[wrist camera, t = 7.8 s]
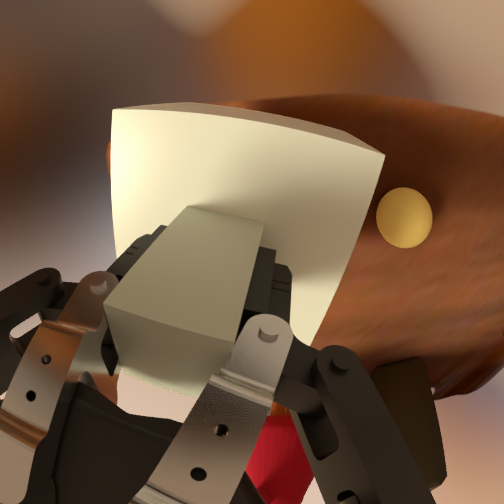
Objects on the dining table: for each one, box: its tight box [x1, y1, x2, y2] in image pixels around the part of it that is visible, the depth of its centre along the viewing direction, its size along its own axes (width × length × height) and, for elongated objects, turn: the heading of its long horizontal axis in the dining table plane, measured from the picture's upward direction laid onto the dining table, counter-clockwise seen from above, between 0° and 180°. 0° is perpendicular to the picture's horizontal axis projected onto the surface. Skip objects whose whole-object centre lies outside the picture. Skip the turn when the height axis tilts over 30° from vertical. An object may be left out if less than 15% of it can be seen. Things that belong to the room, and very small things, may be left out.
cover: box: [103, 102, 385, 399], centre depth 13 cm, size 11×11×15 cm
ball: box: [376, 187, 432, 248], centre depth 20 cm, size 5×5×5 cm
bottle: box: [372, 357, 447, 491], centre depth 25 cm, size 8×16×25 cm, turn 20°
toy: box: [245, 401, 314, 504], centre depth 23 cm, size 27×11×30 cm, turn 30°
